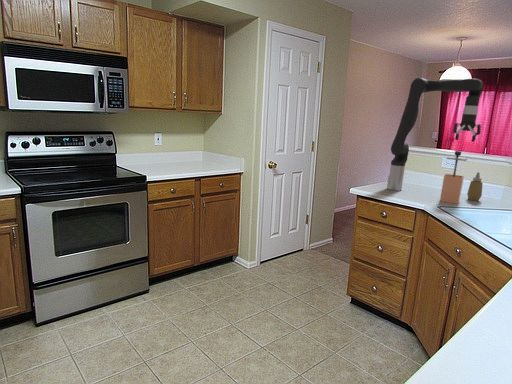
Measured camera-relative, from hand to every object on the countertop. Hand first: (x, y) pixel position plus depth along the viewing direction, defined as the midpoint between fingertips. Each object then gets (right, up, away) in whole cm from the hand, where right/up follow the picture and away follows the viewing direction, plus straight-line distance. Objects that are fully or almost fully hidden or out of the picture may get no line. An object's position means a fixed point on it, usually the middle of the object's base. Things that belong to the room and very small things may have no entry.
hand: (464, 141), depth 223 cm
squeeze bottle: (+13, -36, +13) cm, 41 cm away
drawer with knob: (-5, -26, +4) cm, 26 cm away
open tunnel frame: (-6, -37, +6) cm, 38 cm away
